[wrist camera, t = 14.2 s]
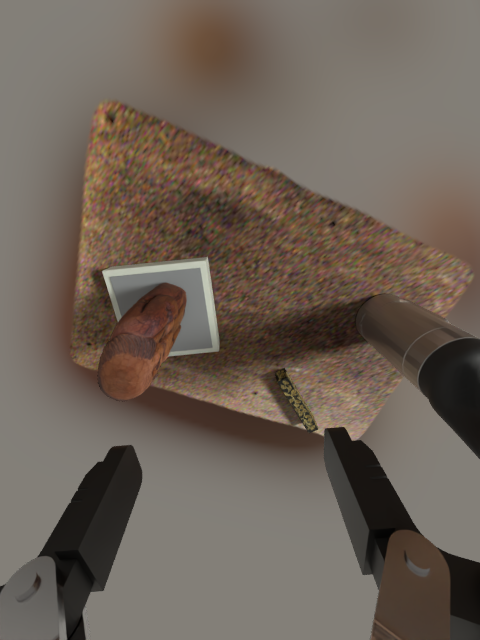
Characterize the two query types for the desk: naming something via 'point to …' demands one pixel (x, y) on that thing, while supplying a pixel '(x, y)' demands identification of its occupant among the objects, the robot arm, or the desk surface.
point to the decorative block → (296, 400)
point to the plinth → (187, 274)
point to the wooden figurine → (141, 342)
